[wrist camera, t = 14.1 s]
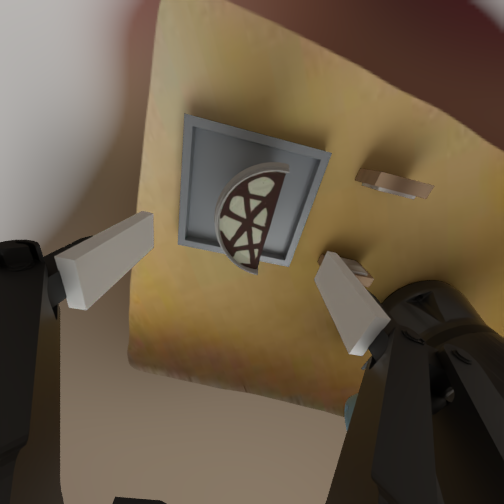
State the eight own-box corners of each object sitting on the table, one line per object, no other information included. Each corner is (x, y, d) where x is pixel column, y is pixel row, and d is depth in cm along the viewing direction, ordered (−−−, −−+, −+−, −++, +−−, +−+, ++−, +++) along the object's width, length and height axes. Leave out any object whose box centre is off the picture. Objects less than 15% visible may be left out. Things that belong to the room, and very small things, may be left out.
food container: (233, 147, 25) (221, 145, 16) (278, 160, 25) (292, 165, 16) (218, 233, 30) (203, 267, 21) (255, 242, 31) (256, 278, 22)
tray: (325, 152, 26) (331, 153, 23) (286, 259, 33) (288, 266, 31) (190, 116, 24) (184, 113, 22) (183, 237, 32) (177, 244, 30)
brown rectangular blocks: (405, 180, 27) (434, 185, 23) (354, 269, 34) (369, 287, 30) (360, 168, 27) (381, 171, 22) (317, 262, 34) (327, 278, 29)
